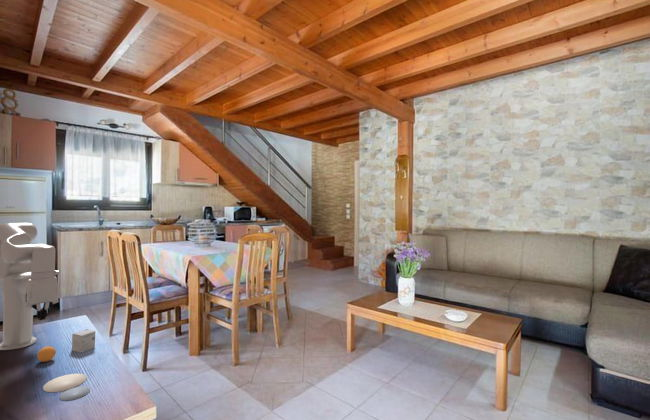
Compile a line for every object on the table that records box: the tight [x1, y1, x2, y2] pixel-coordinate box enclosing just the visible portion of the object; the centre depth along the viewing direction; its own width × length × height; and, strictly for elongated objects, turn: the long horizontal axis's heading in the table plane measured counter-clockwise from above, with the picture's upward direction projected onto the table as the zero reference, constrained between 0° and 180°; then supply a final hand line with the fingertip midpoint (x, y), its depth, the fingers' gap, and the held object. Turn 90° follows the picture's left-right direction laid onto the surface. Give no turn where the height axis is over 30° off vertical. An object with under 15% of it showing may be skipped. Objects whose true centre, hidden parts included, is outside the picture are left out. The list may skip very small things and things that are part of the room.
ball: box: [37, 346, 57, 363], centre depth 128 cm, size 6×6×6 cm
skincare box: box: [71, 328, 96, 353], centre depth 140 cm, size 6×6×7 cm
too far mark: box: [59, 386, 91, 402], centre depth 107 cm, size 8×8×1 cm
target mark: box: [42, 373, 88, 393], centre depth 113 cm, size 12×12×1 cm
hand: (41, 319), depth 134 cm, fingers closed
